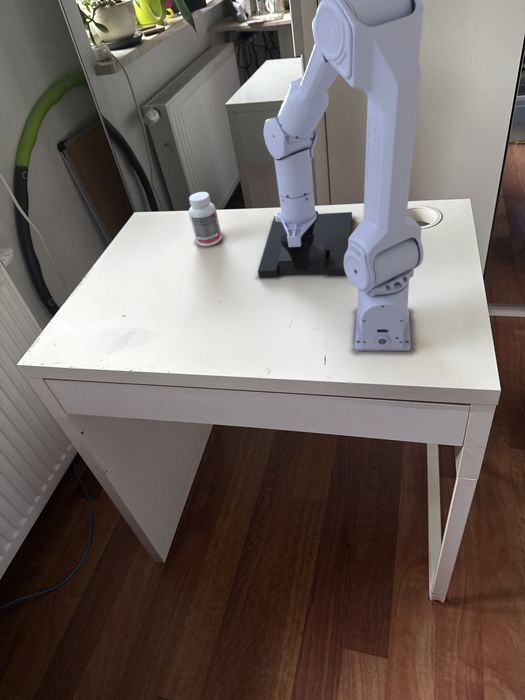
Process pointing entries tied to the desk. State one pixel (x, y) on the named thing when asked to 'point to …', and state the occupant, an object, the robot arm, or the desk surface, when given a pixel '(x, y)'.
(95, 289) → the desk surface
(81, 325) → the desk surface
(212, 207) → the pill bottle
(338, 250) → the big pad
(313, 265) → the small pad
